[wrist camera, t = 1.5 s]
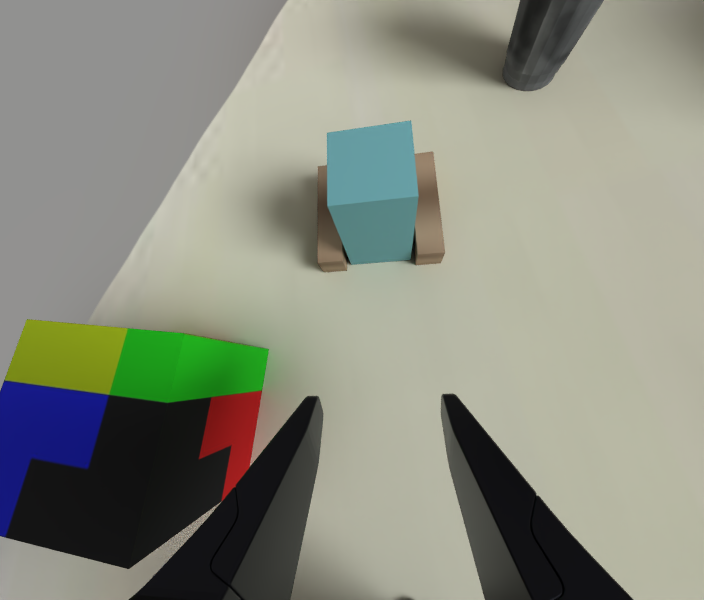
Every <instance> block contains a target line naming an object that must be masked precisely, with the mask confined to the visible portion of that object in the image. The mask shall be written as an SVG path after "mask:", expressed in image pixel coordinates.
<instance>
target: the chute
mask: <svg viewBox="0 0 704 600" xmlns="http://www.w3.org/2000/svg"><path fill="white" fill-rule="evenodd" d="M414 155H415V165H416V175H417V185H418V195H419V197H418V205H417V213H416V220H415V228H414V236H413V239H414V250H415V262H416V265H423V264H436V263H441V261H442V258H443V256H444V254H445V248H444V239H443V231H442V222H441V214H440V206H439V197H438V189H437V180H436V172H435V163H434V155H433V152H426V153H418V154H414ZM318 264H319V266H320V267H321V268H322V270H323V271H324V272H334V271H347V253H346V250H345V248H344V245H343V243H342V240H341V238H340V236H339V233H338V231H337V228H336V226H335V223H334V221H333V219H332V216H331V214H330V211H329V209H328V206H327V165H326V166H318Z"/></svg>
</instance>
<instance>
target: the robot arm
mask: <svg viewBox="0 0 704 600" xmlns="http://www.w3.org/2000/svg"><path fill="white" fill-rule="evenodd" d="M441 419H442V425H443V432H444V438H445V445H446V451H447V458H448V463H449V468H450V472H451V476H452V479H453V483H454V487H455V490H456V494H457V498H458V502H459V505H460V509H461V513H462V516H463V520H464V524H465V527H466V531H467V535H468V539H469V542H470V546H471V550H472V553H473V557H474V561H475V564H476V568H477V572H478V576H479V579H480V583H481V587H482V590H483V594H484V598H485V600H633V599H632V598H631V597H630V596H629V594H628V593H627V592H626V591H625V590H624V589H623V588H622V587H621V586H620V585H619V584H618V583H617V582H616V581H615V580H614V579H613V578H612V577H611V576H610V575H609V574H608V573H607V572H606V570H605V569H604V568H603V567H602V566H601V565H600V564H599V563H598V562H597V561H596V560H595V559H594V558H593V557H592V556H591V555H590V554H589V553H588V552H587V550H586V549H585V548H584V547H583V546H582V545H581V544H580V543H579V542H578V541H577V540H576V539H575V538H574V536H573V535H572V534H571V533H570V532H569V531H568V530H567V529H566V528H565V526H564V525H563V524H562V523H561V522H560V521H559V519H558V518H557V517H556V516H555V515H554V514H553V512H552V511H551V510H550V509H549V508H548V506H547V505H546V504H545V503H544V501H543V500H542V499H541V498H540V497H539V496H536V492H535V491H534V489H533V488H532V487H531V486H530V485H529V483H528V482H527V481H526V480H525V478H524V477H523V476H522V475H521V474H520V472H519V471H518V470H517V469H516V468H515V466H514V465H513V464H512V463H511V461H510V460H509V459H508V458H507V457H506V455H505V454H504V453H503V452H502V450H501V449H500V448H499V447H498V446H497V444H496V443H495V442H494V441H493V440H492V438H491V437H490V436H489V435H488V433H487V432H486V431H485V430H484V429H483V427H482V426H481V425H480V424H479V422H478V421H477V420H476V419H475V418H474V416H473V415H472V414H471V413H470V412H469V410H468V409H467V408H466V407H465V405H464V404H463V403H462V402H461V401H460V399H459V398H458V397H457V396H456V395H455V394H442V397H441ZM322 425H323V410H322V406H321V402H320V399H319V397H318V396H307V397H306V398H305V399H304V400H303V402H302V403H301V404H300V405H299V407H298V408H297V409H296V410H295V411H294V413H293V414H292V415H291V416H290V418H289V419H288V420H287V421H286V423H285V424H284V425H283V426H282V428H281V429H280V430H279V431H278V433H277V434H276V435H275V436H274V438H273V439H272V440H271V441H270V443H269V444H268V445H267V446H266V448H265V449H264V450H263V451H262V453H261V454H260V455H259V456H258V458H257V459H256V460H255V461H254V462H253V464H252V465H251V466H250V467H249V469H248V470H247V471H246V472H245V474H244V475H243V476H242V477H241V479H240V480H239V481H238V482H237V484H236V487H233V488H232V490H231V491H230V492H229V493H228V495H227V496H226V497H225V498H224V500H223V501H222V502H221V503H220V504H219V506H218V507H217V508H216V509H215V510H214V512H213V513H212V514H211V515H210V516H209V517H208V518H207V520H206V521H205V522H204V523H203V524H202V525H201V526H200V527H199V528H198V529H197V531H196V532H195V533H194V534H193V535H192V536H191V537H190V538H189V539H188V540H187V541H186V542H185V543H184V545H183V546H182V547H181V548H180V549H179V550H178V551H177V552H176V553H175V554H174V555H173V556H172V557H171V558H170V559H169V561H168V562H167V563H166V564H165V565H164V566H163V567H162V568H161V569H160V570H159V571H158V572H157V573H156V574H155V575H154V576H153V578H152V579H151V580H150V581H149V582H148V583H147V584H146V585H145V586H144V587H143V588H142V589H140V590H139V591H138V592H137V593H136V594H135V595H134V596H133V597H131V598H130V599H129V600H290V598H291V593H292V588H293V583H294V579H295V574H296V569H297V564H298V560H299V555H300V550H301V545H302V540H303V536H304V531H305V526H306V521H307V517H308V512H309V507H310V502H311V498H312V493H313V488H314V483H315V478H316V474H317V469H318V463H319V455H320V445H321V435H322Z"/></svg>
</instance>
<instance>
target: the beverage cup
mask: <svg viewBox="0 0 704 600" xmlns="http://www.w3.org/2000/svg"><path fill="white" fill-rule="evenodd" d="M603 1H604V0H520V4H519V7H518V11H517V15H516V19H515V23H514V26H513V30H512V34H511V38H510V42H509V45H508V49H507V56H506V60H505V65H504V68H503V77H504V80H505V81H506V82H507V84H508V85H509V86H511V87H513V88H515V89H518V90H522V91H533V90H537V89H541V88H542V87H544V86H546V85H548V83H549V82H550V81H551V80H552V79H553V77H554V75H555V73H556V72H557V71H558V70H559V68H560V67H561V65H562V64H563V63H564V62H565V60H566V59H567V57H568V56H569V54H570V52H571V51H572V49H573V48H574V46H575V45H576V43H577V41H578V40H579V38H580V37H581V35H582V34H583V32H584V30H585V29H586V27H587V26H588V24H589V23H590V21H591V19H592V18H593V16H594V15H595V13H596V12H597V10H598V8H599V7H600V5H601V4H602V2H603Z"/></svg>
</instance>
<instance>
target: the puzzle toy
mask: <svg viewBox="0 0 704 600" xmlns="http://www.w3.org/2000/svg"><path fill="white" fill-rule="evenodd" d="M268 351H269V349H265V348H259V347H254V346H249V345H243V344H238V343H233V342H227V341H222V340H217V339H211V338H206V337H201V336H195V335H190V334H185V333H174V332H163V331H152V330H141V329H129V328H118V327H107V326H96V325H85V324H73V323H63V322H62V323H61V322H52V321H41V320H28V319H27V320H26V323H25V326H24V329H23V331H22V334H21V337H20V339H19V342H18V345H17V347H16V350H15V353H14V356H13V358H12V361H11V364H10V366H9V369H8V372H7V375H6V377H5V380H4V383H3V386H2V388H1V391H0V536H2V537H6V538H9V539H13V540H17V541H21V542H25V543H29V544H33V545H37V546H41V547H45V548H48V549H52V550H56V551H60V552H64V553H68V554H72V555H76V556H80V557H84V558H88V559H91V560H95V561H99V562H103V563H107V564H111V565H115V566H119V567H123V568H127V569H130V568H131V567H132V566H134V565H135V564H136V563H138V562H139V561H140V560H142V559H143V558H145V557H146V556H147V555H149V554H150V553H151V552H153V551H154V550H156V549H157V548H158V547H160V546H161V545H162V544H164V543H165V542H166V541H168V540H169V539H171V538H172V537H173V536H175V535H176V534H177V533H179V532H180V531H182V530H183V529H184V528H186V527H187V526H188V525H190V524H191V523H192V522H194V521H195V520H197V519H198V518H199V517H201V516H202V515H203V514H205V513H206V512H207V511H209V510H210V509H212V508H213V507H214V506H216V505H217V504H218V503H220V502H221V501H223V500H224V498H225V497H226V496H227V495H228V493H229V492H230V491H231V490H232V488H233V487H236V484H237V482H238V481H239V480H240V479H241V477H242V476H243V475H244V474H245V472H246V471H247V470H248V469H249V466H250V460H251V454H252V448H253V442H254V436H255V430H256V424H257V418H258V412H259V406H260V399H261V393H262V387H263V381H264V375H265V369H266V363H267V357H268Z"/></svg>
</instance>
